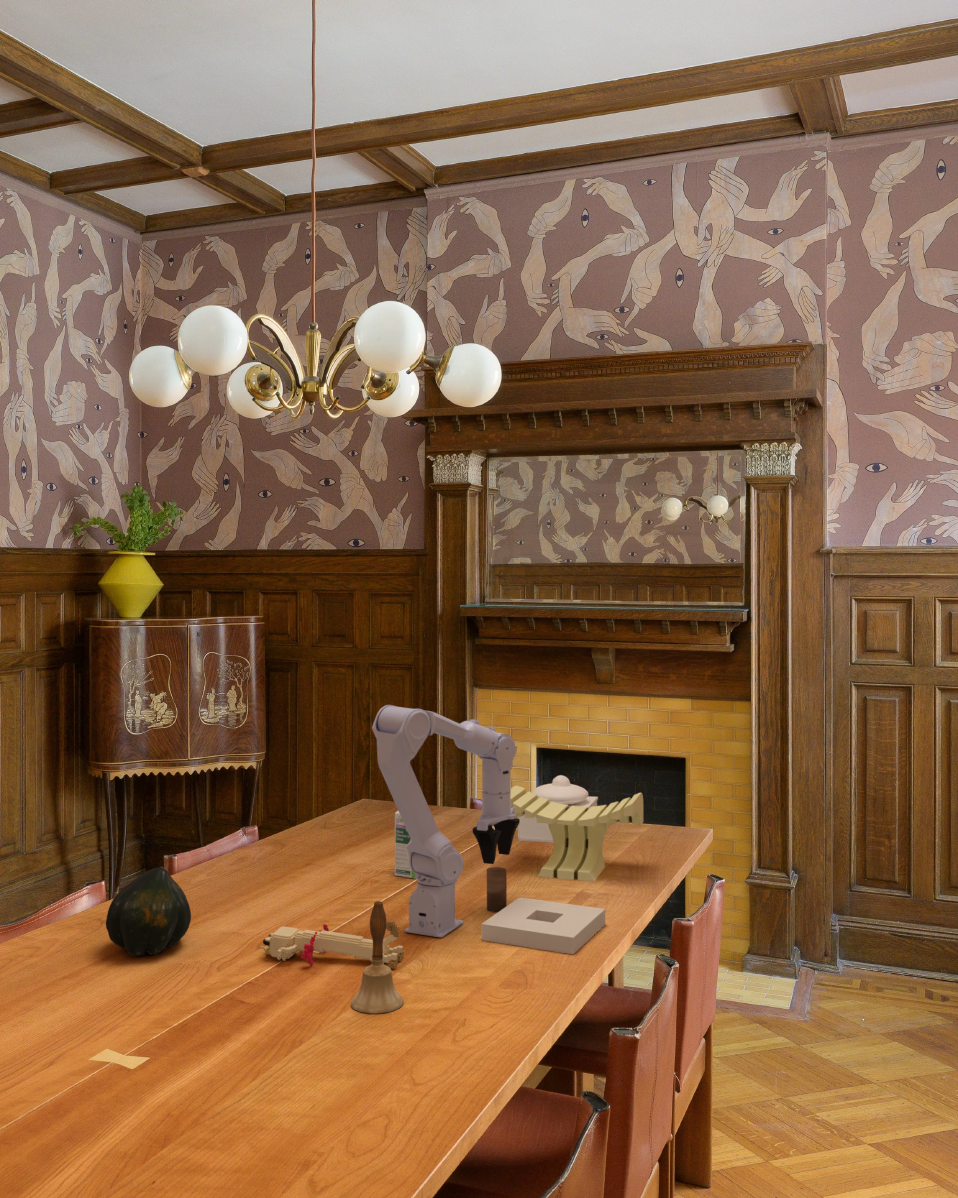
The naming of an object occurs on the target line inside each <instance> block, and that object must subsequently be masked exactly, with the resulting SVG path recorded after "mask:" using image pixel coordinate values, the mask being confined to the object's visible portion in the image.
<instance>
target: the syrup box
mask: <svg viewBox="0 0 958 1198" xmlns="http://www.w3.org/2000/svg"><path fill="white" fill-rule="evenodd" d="M410 840H411V838H410V836H409V834H408V831H407V829H406V827H405V825H404V822H403V820H402V818H401V815H400V813H399V811H398V810H397V811H396V812H395V813H394V876H395V877H403V878H408V879H410V878H411V879H414V880H416V879H415V873H414V872H413V871H412V870H411V868H410V865H409V853H408V850H407V848H406V847H407V845H408V843H409V842H410Z"/></svg>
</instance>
